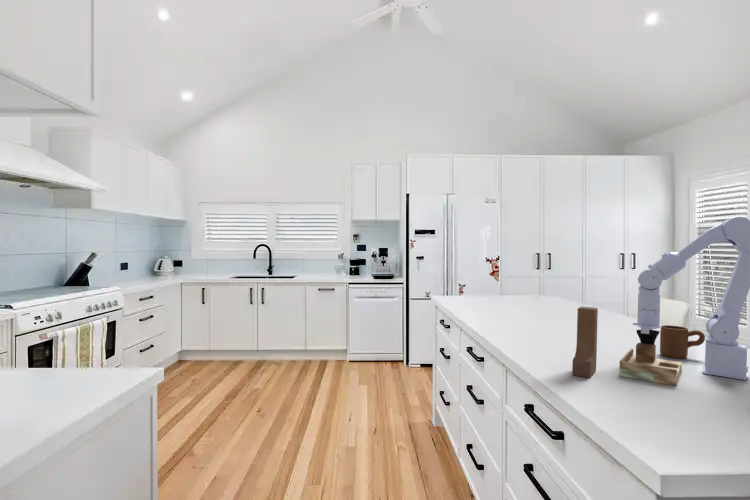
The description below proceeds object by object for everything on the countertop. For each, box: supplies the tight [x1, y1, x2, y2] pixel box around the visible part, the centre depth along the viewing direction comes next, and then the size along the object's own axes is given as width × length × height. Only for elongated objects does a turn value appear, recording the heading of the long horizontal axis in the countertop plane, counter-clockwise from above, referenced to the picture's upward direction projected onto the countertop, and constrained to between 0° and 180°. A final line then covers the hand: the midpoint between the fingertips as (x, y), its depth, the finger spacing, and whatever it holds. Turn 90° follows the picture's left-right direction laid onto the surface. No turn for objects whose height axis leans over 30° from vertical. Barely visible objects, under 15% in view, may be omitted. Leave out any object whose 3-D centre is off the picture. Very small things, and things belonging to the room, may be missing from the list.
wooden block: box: [571, 306, 599, 379], centre depth 124 cm, size 9×4×18 cm, turn 144°
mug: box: [659, 324, 706, 359], centre depth 146 cm, size 12×8×9 cm, turn 58°
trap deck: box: [618, 348, 683, 387], centre depth 127 cm, size 13×20×4 cm, turn 142°
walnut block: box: [635, 342, 657, 363], centre depth 132 cm, size 4×4×4 cm
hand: (647, 354), depth 136 cm, fingers closed
